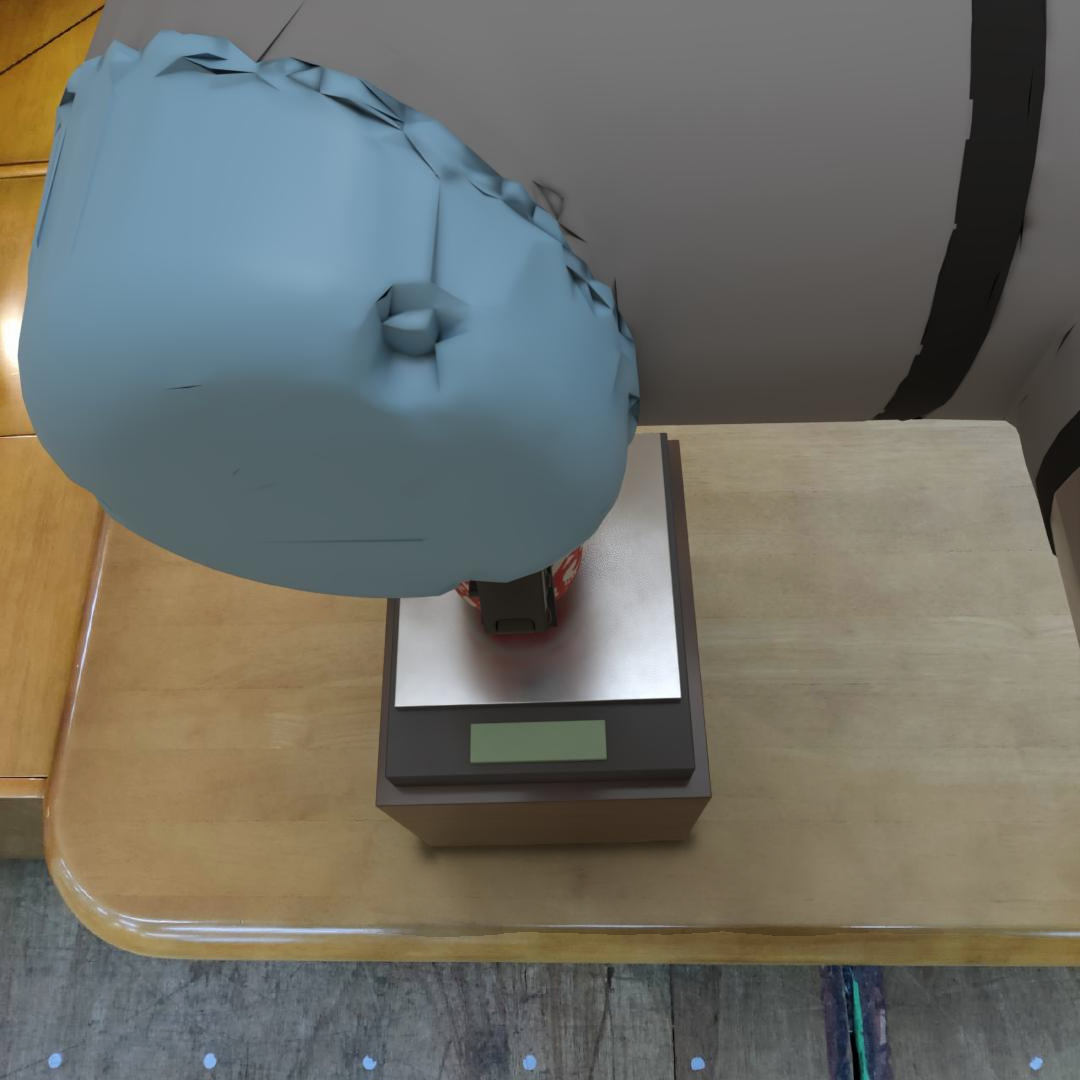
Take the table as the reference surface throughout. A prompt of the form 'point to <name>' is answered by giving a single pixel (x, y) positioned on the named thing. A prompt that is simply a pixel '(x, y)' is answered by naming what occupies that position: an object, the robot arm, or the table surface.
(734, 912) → the table surface
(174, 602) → the table surface
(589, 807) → the riser
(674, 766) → the kitchen scale
